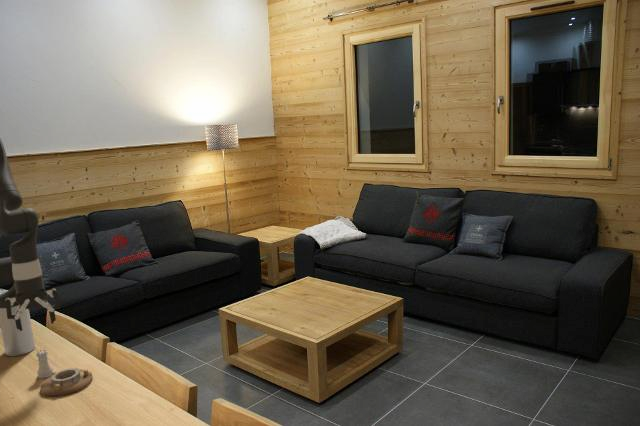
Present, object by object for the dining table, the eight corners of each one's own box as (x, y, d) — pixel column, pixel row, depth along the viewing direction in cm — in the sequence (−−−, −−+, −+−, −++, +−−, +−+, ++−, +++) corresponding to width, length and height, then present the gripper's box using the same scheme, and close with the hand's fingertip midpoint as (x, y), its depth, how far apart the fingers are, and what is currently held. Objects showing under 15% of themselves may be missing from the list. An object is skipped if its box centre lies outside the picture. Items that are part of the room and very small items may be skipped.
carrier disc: (39, 382, 163) (37, 372, 162) (88, 368, 170) (87, 359, 169) (42, 402, 151) (40, 391, 150) (95, 386, 158) (94, 376, 157)
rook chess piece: (56, 372, 169) (52, 348, 167) (45, 379, 164) (41, 355, 163) (45, 371, 170) (41, 347, 169) (34, 378, 166) (30, 353, 164)
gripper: (52, 267, 168) (61, 317, 171) (0, 277, 161) (9, 328, 164) (55, 273, 162) (63, 324, 164) (0, 283, 155) (10, 336, 157)
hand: (36, 326), depth 164 cm, fingers open, 8 cm apart
